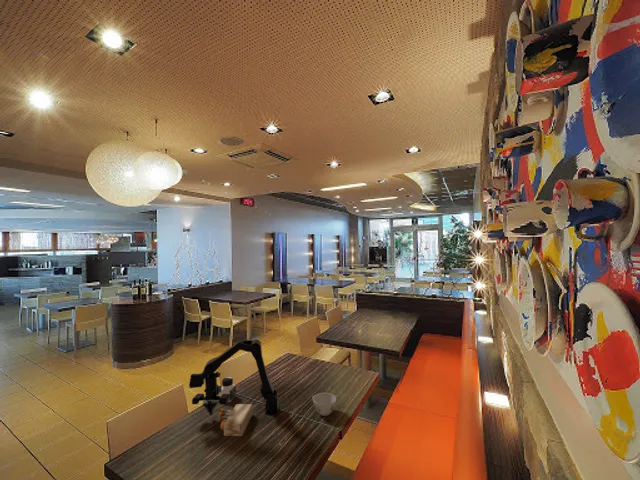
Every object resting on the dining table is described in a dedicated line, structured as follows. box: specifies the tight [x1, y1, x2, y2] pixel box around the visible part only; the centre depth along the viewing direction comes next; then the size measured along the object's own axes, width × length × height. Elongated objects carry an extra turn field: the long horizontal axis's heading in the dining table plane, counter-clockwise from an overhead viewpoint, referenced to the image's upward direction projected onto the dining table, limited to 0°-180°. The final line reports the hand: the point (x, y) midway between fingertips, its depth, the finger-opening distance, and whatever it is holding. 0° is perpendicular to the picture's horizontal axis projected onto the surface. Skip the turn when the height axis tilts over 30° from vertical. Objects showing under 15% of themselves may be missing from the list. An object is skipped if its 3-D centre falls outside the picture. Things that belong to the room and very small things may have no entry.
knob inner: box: [217, 407, 233, 419], centre depth 149 cm, size 10×4×4 cm, turn 87°
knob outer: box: [220, 418, 227, 431], centre depth 139 cm, size 10×4×4 cm, turn 86°
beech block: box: [223, 403, 253, 437], centre depth 144 cm, size 9×17×6 cm, turn 177°
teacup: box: [311, 392, 337, 417], centre depth 153 cm, size 15×12×8 cm
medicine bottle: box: [218, 376, 237, 403], centre depth 169 cm, size 7×7×12 cm
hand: (211, 415), depth 149 cm, fingers closed
